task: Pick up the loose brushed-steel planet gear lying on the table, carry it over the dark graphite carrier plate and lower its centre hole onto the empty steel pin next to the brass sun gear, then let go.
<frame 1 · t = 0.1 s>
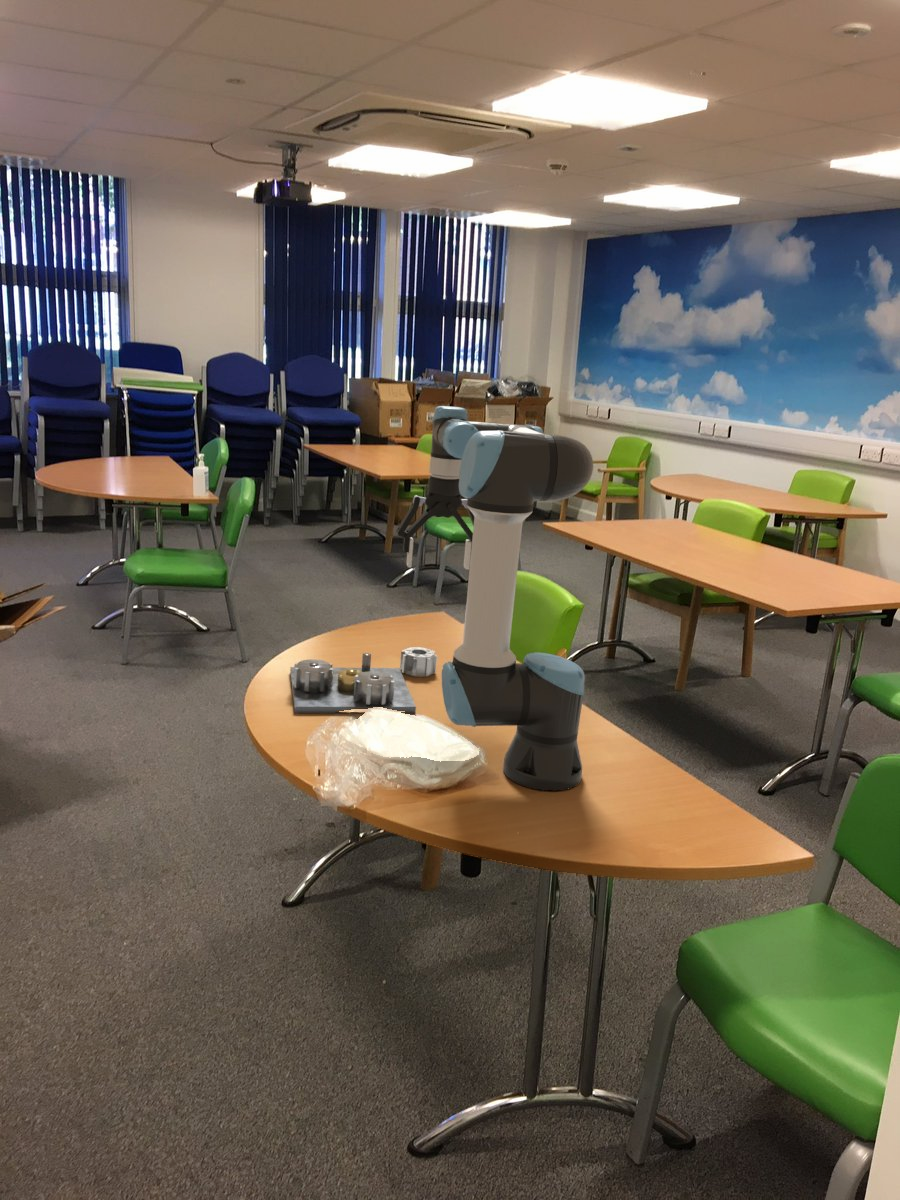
hand: (437, 567, 216), 28 cm above the table, fingers open, 13 cm apart
planet gear: (417, 671, 228), on the table
carrier: (350, 692, 211), on the table
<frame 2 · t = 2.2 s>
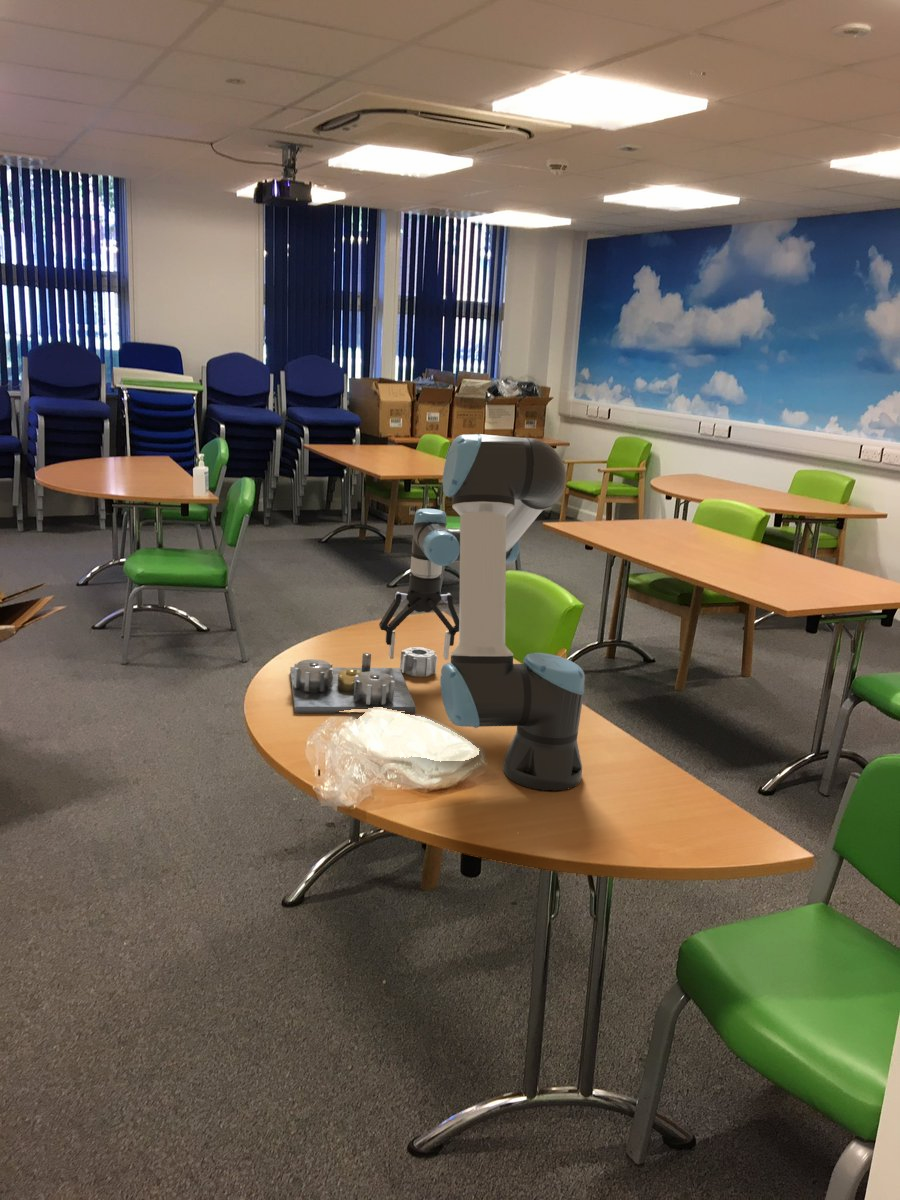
hand: (418, 657, 228), 3 cm above the table, fingers open, 13 cm apart
nothing on the table moved.
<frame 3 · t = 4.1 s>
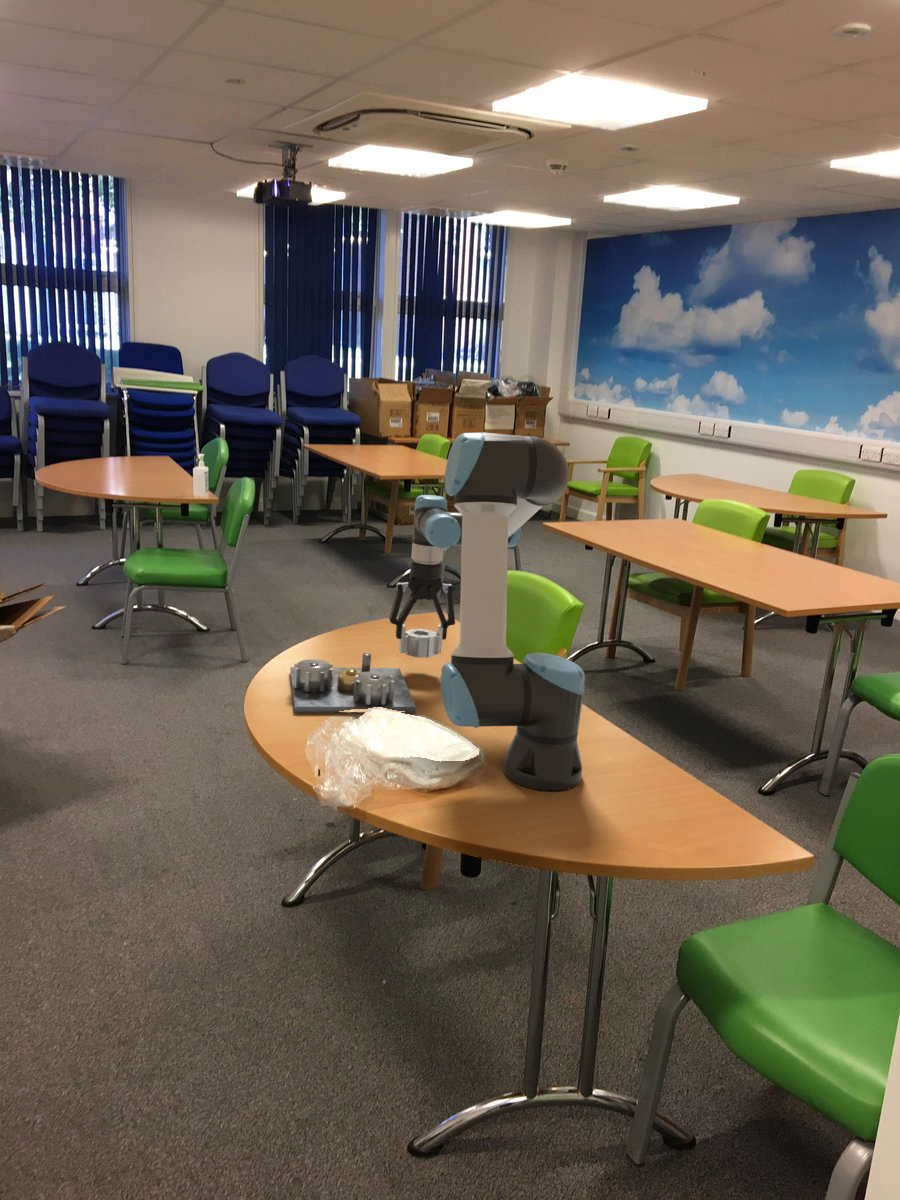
hand: (419, 651, 226), 5 cm above the table, fingers closed on planet gear, 8 cm apart
planet gear: (419, 652, 226), point 5 cm above the table, touching gripper
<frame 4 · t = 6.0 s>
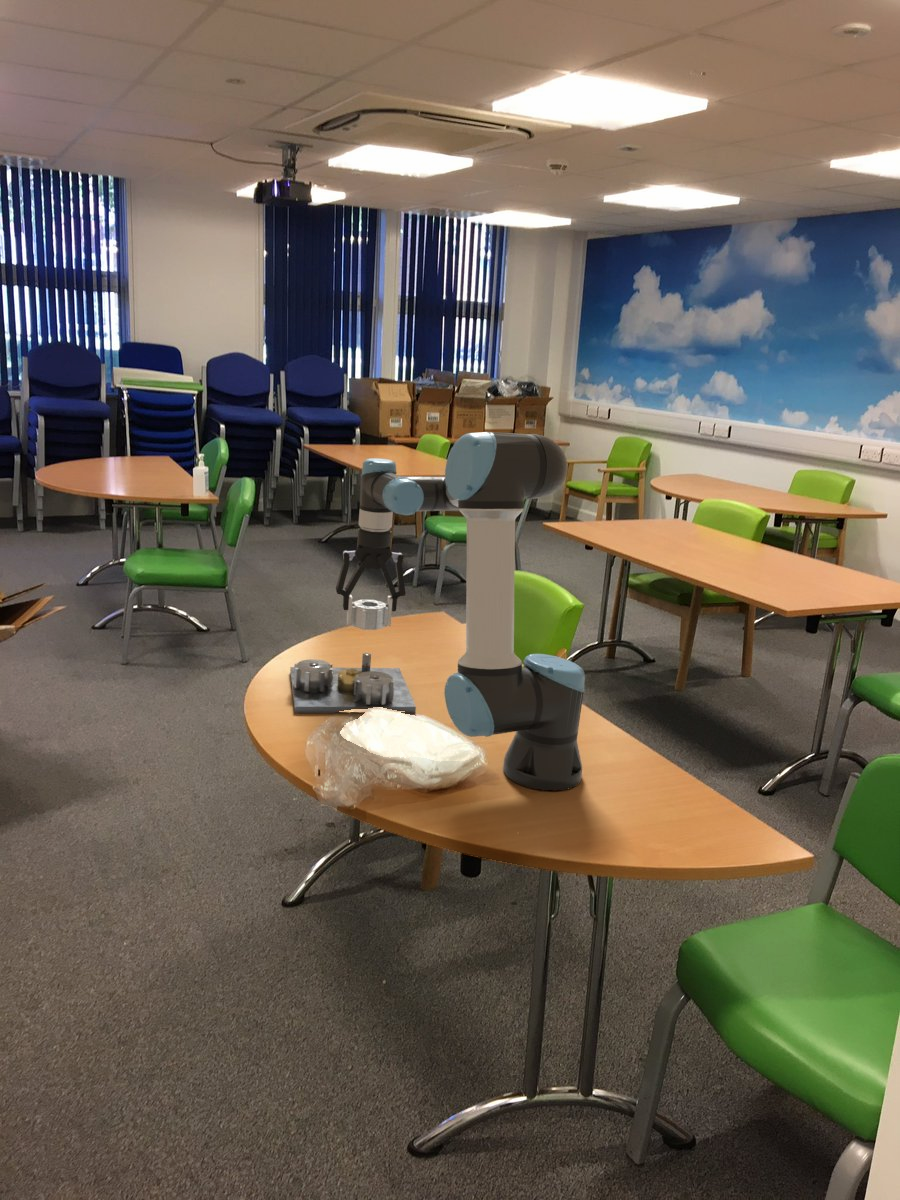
hand: (368, 623, 215), 14 cm above the table, fingers closed on planet gear, 8 cm apart
planet gear: (368, 624, 215), point 14 cm above the table, touching gripper
when the fingers open (3 cm above the table, at t = 8.1 s): planet gear drops 1 cm, resting on carrier.
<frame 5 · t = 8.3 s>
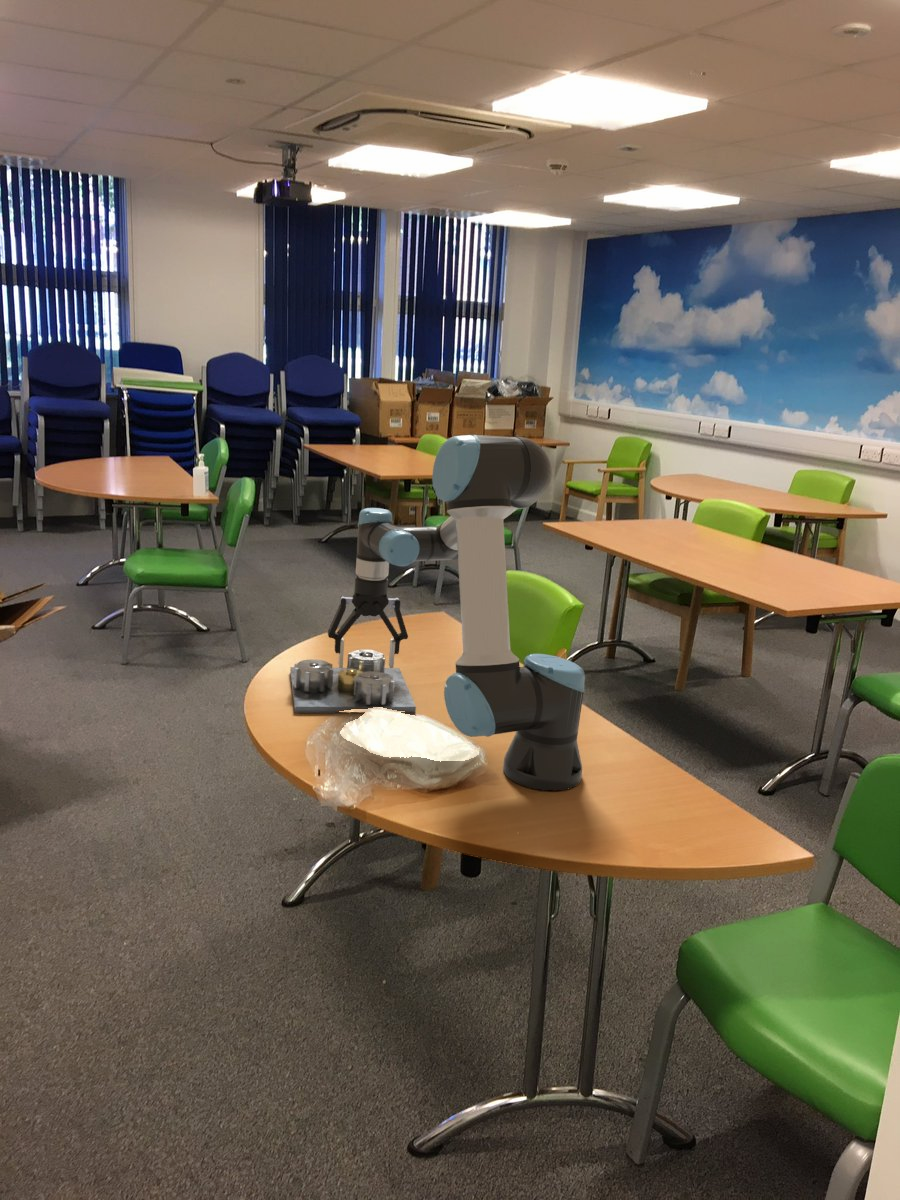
hand: (365, 666, 218), 4 cm above the table, fingers open, 11 cm apart
planet gear: (365, 674, 219), point 1 cm above the table, touching carrier
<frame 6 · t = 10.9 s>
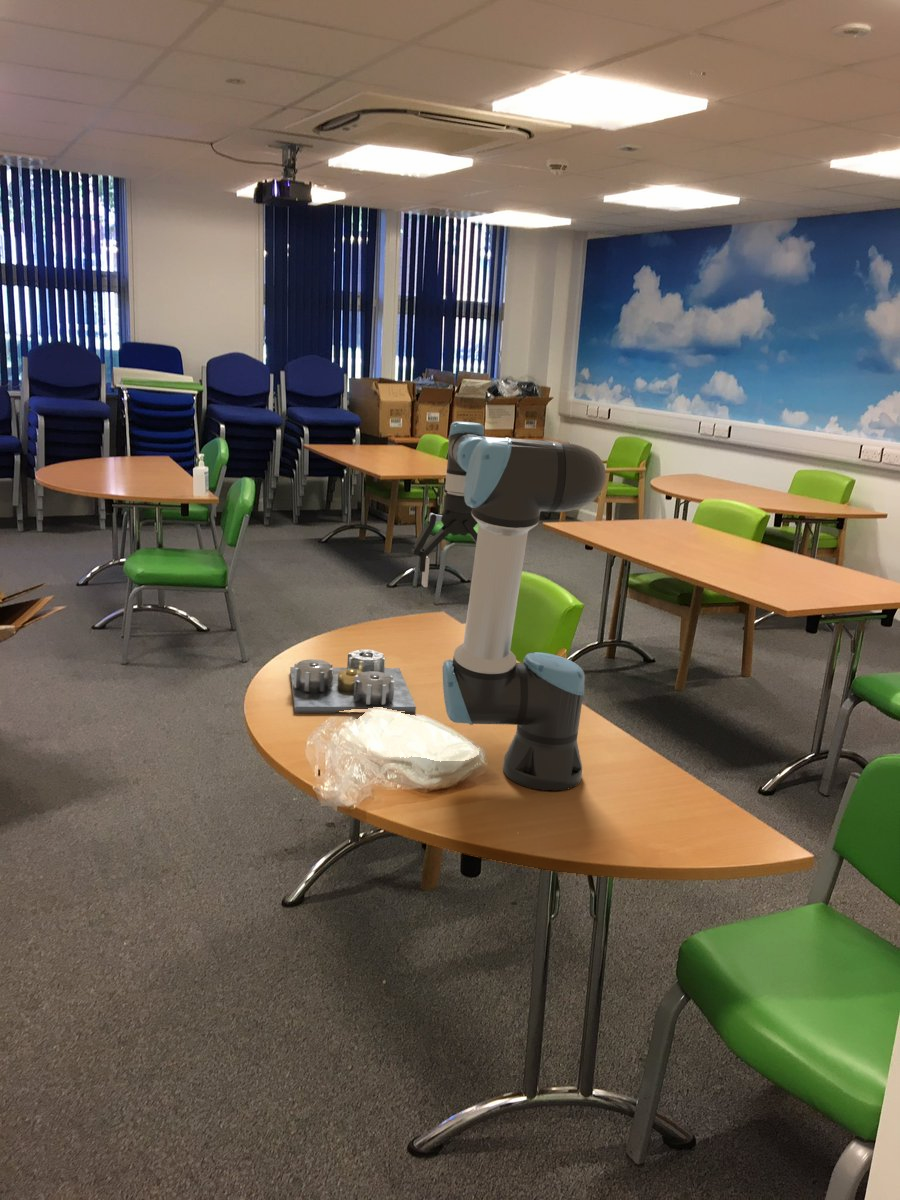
hand: (453, 586, 210), 25 cm above the table, fingers open, 13 cm apart
nothing on the table moved.
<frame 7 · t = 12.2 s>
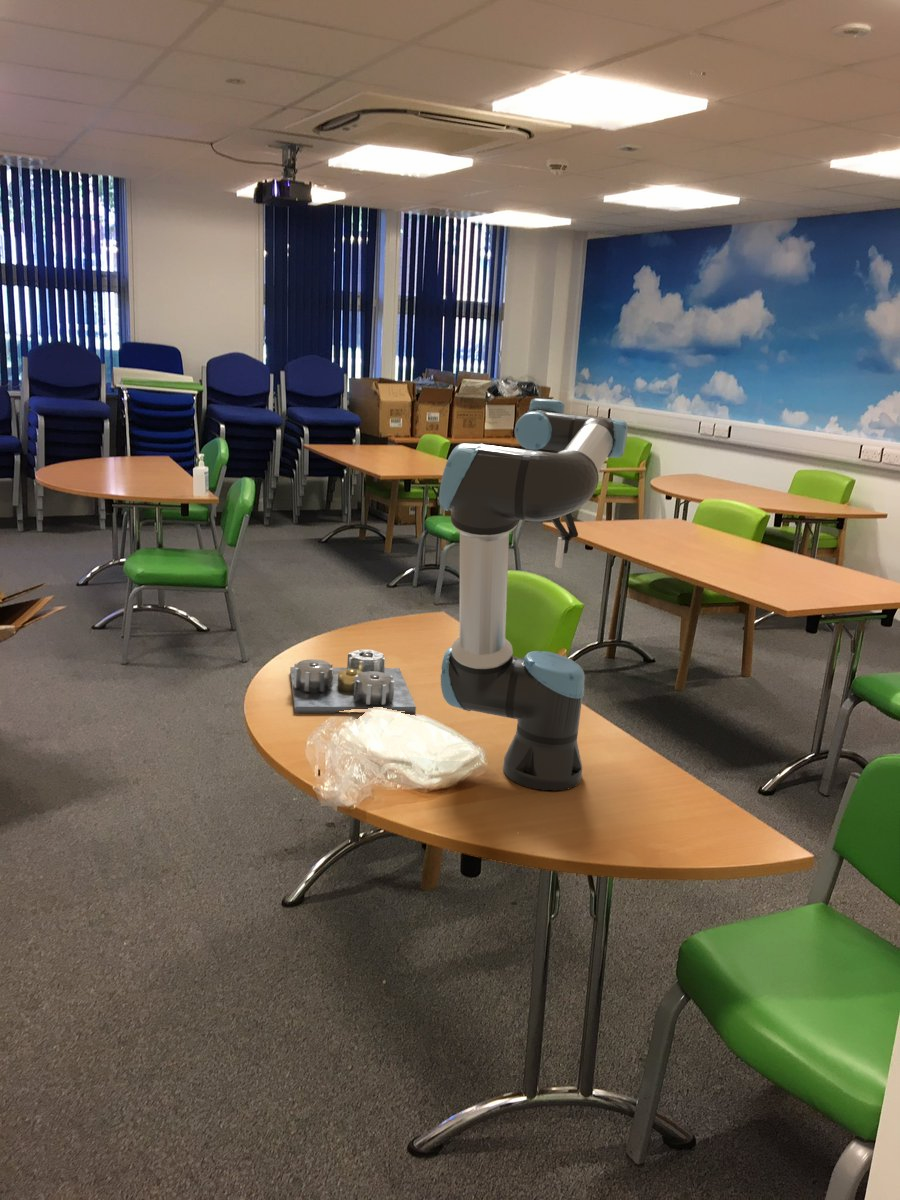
hand: (529, 566, 208), 32 cm above the table, fingers open, 13 cm apart
nothing on the table moved.
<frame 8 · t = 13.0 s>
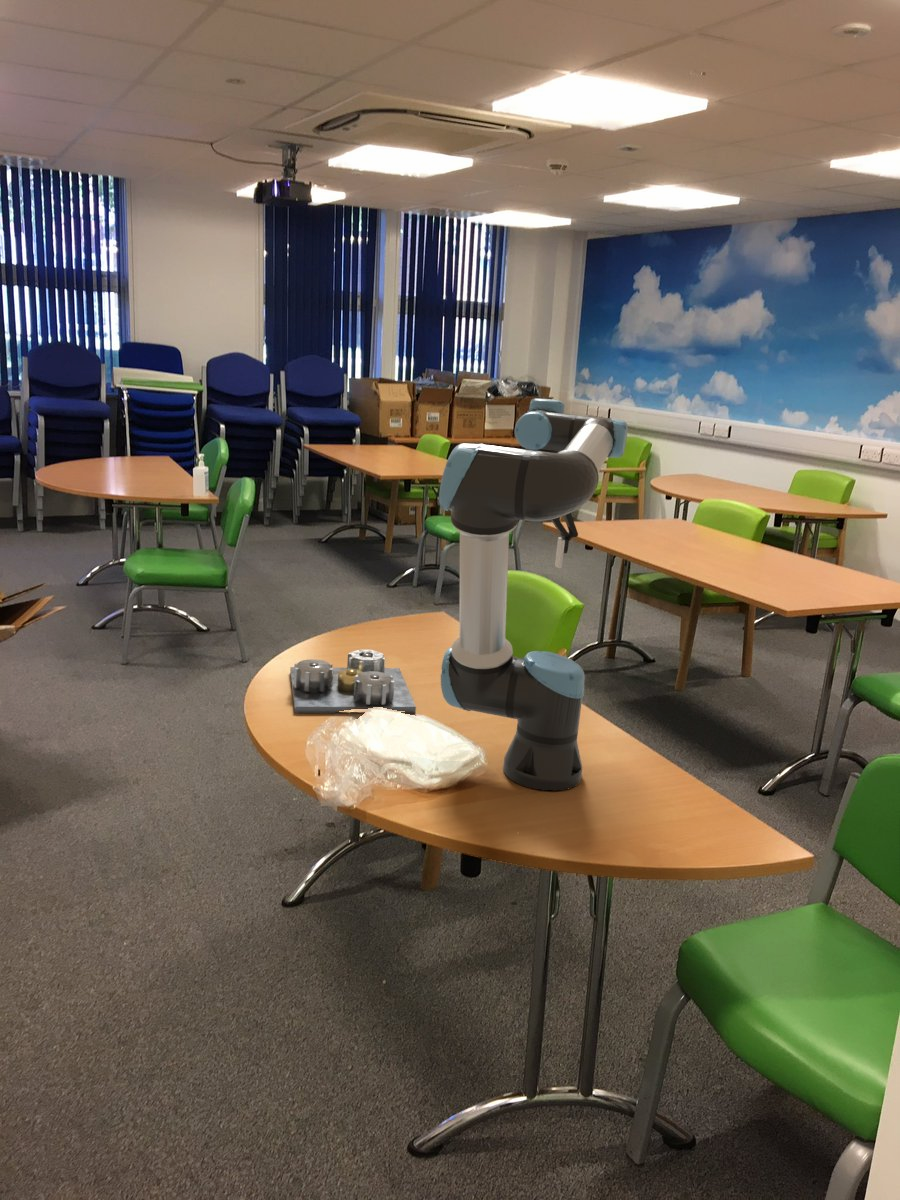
hand: (529, 566, 208), 32 cm above the table, fingers open, 13 cm apart
nothing on the table moved.
at the end: planet gear 0.1 cm from the target spot on the carrier, point 1.5 cm above the carrier's base; planet gear tilted 0°; the gripper is holding nothing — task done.
